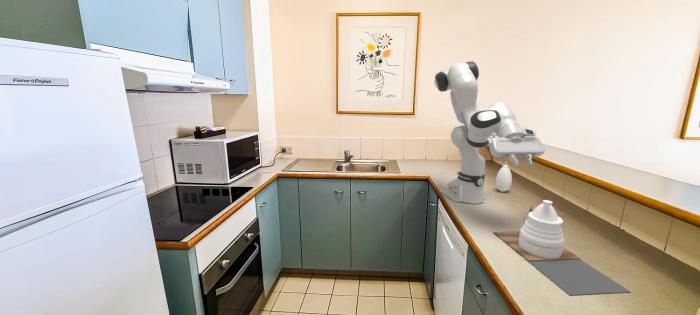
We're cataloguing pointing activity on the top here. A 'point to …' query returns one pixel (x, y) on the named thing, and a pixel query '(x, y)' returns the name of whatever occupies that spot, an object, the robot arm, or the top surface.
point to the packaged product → (529, 212)
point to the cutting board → (512, 240)
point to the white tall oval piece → (504, 179)
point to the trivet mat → (577, 277)
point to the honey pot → (542, 232)
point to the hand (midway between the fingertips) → (523, 165)
